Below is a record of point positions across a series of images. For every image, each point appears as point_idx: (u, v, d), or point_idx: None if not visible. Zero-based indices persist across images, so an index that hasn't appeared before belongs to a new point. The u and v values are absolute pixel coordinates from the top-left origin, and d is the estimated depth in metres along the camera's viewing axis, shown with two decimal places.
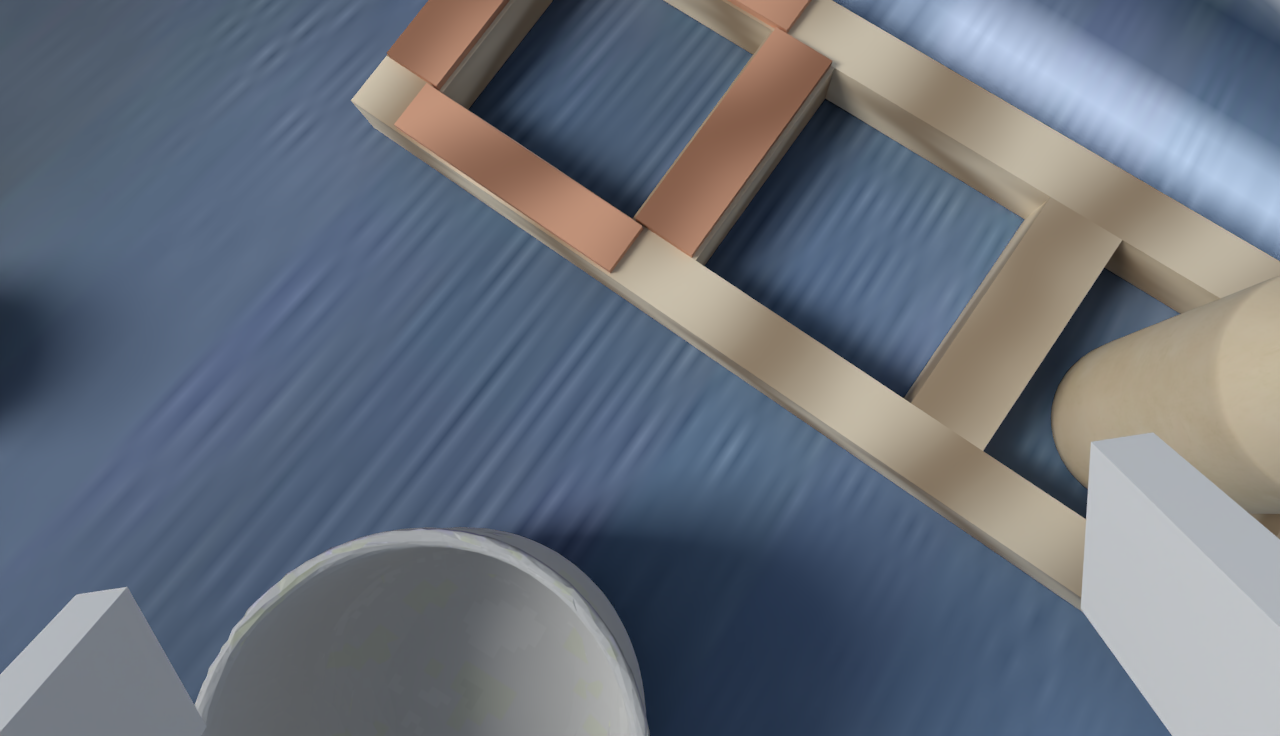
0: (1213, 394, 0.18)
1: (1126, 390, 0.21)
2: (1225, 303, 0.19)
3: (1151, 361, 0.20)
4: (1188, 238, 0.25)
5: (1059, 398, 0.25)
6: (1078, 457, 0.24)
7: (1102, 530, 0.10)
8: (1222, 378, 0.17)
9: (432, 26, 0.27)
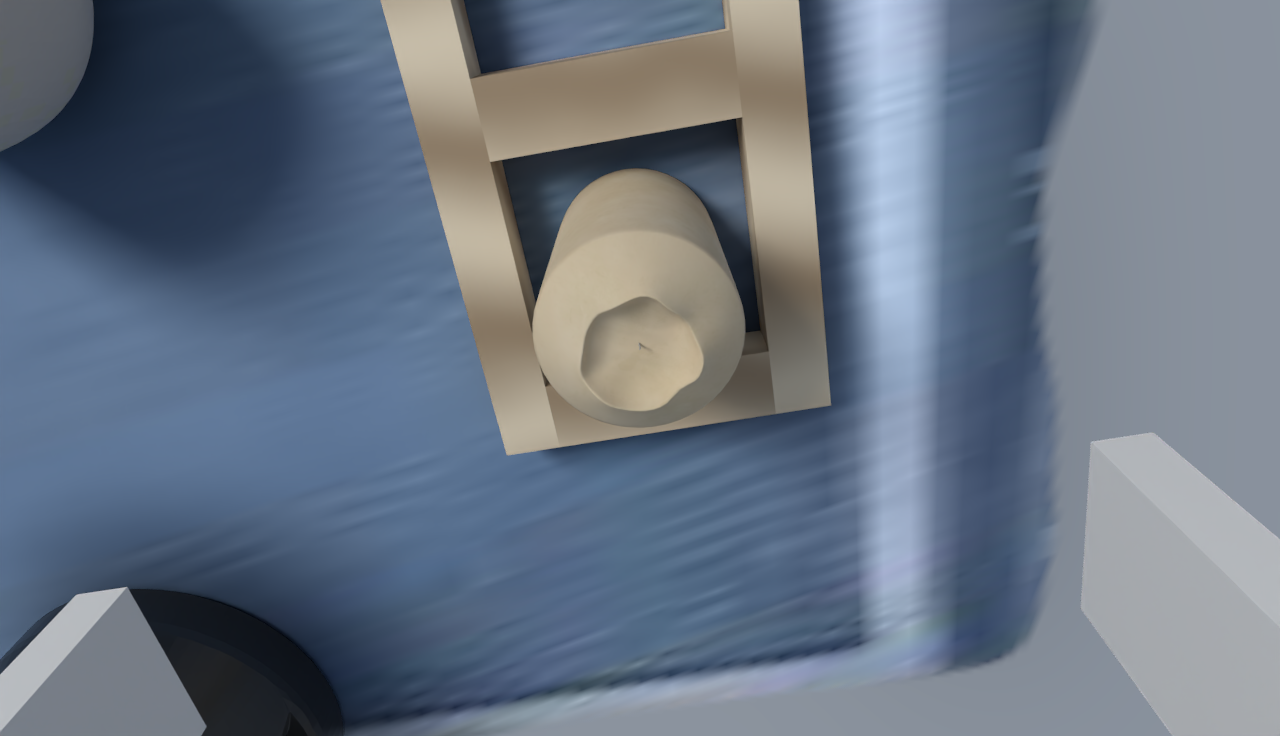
0: (557, 264, 0.20)
1: (582, 214, 0.23)
2: (647, 221, 0.20)
3: (600, 212, 0.22)
4: (784, 162, 0.25)
5: (598, 179, 0.27)
6: (560, 227, 0.27)
7: (1102, 530, 0.10)
8: (567, 260, 0.20)
9: None
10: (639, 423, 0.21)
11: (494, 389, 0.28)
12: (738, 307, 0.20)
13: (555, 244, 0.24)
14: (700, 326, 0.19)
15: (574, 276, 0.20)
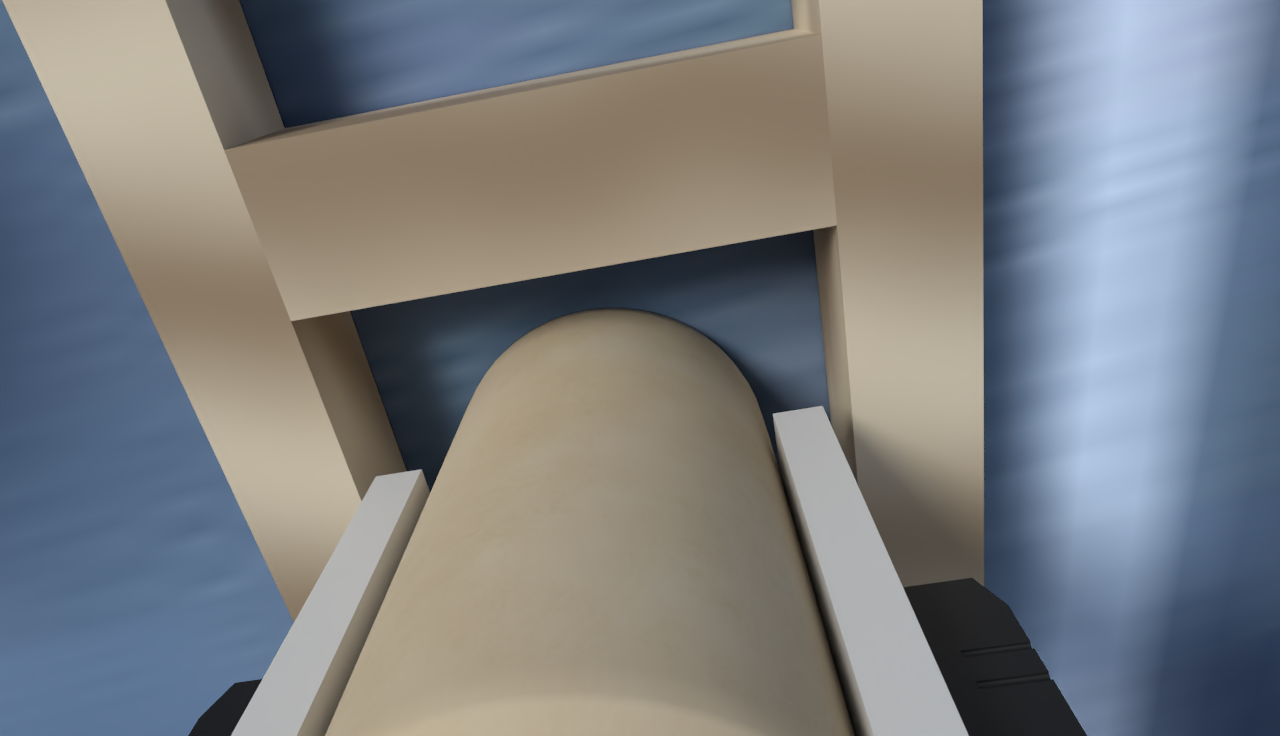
0: None
1: (465, 481, 0.10)
2: (605, 612, 0.07)
3: (495, 506, 0.09)
4: (923, 317, 0.12)
5: (534, 334, 0.13)
6: None
7: (784, 487, 0.12)
8: None
9: None
10: None
11: None
12: None
13: None
14: None
15: None
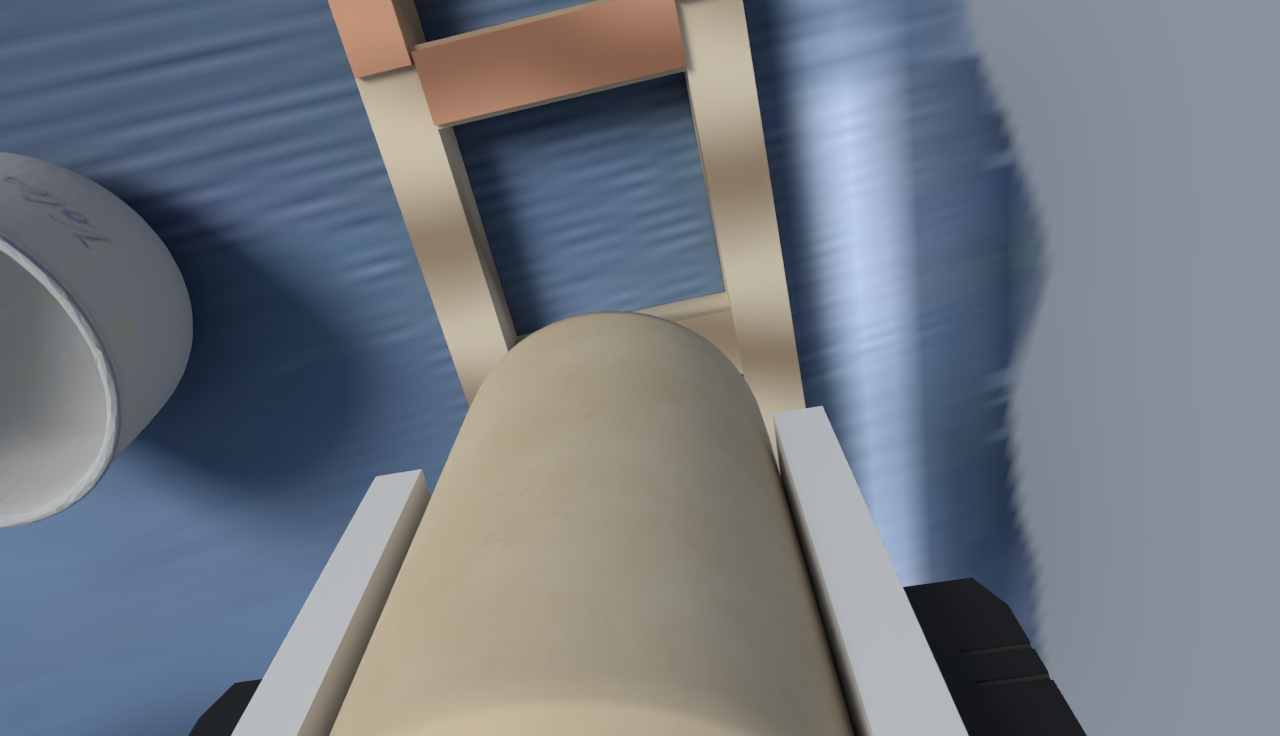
0: None
1: (467, 485, 0.10)
2: (606, 618, 0.07)
3: (497, 510, 0.09)
4: (781, 406, 0.29)
5: (535, 337, 0.13)
6: None
7: (784, 487, 0.12)
8: None
9: None
10: None
11: None
12: None
13: None
14: None
15: None
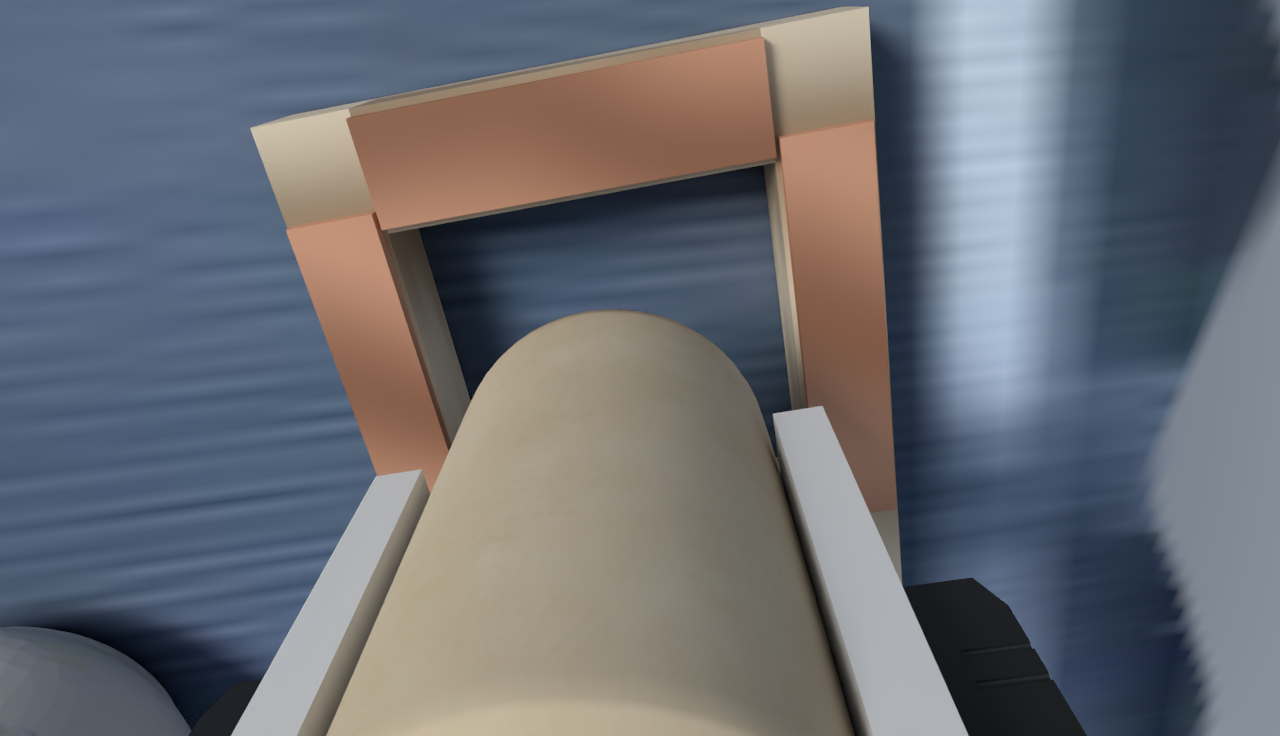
0: None
1: (465, 483, 0.10)
2: (605, 616, 0.07)
3: (496, 508, 0.09)
4: None
5: (535, 336, 0.13)
6: None
7: (784, 487, 0.12)
8: None
9: (440, 141, 0.15)
10: None
11: None
12: None
13: (414, 531, 0.10)
14: None
15: None
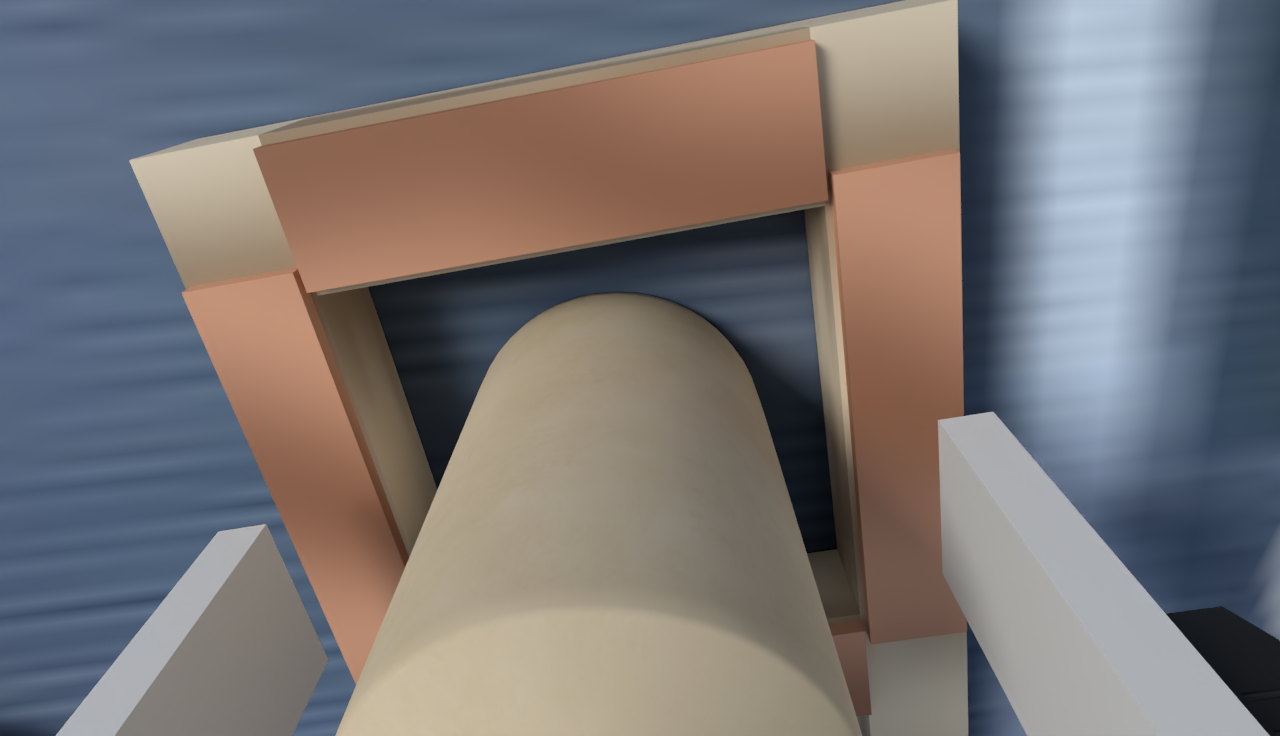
0: (373, 675, 0.07)
1: (486, 442, 0.11)
2: (618, 543, 0.08)
3: (516, 461, 0.10)
4: None
5: (544, 316, 0.14)
6: None
7: (949, 500, 0.11)
8: (395, 679, 0.07)
9: (380, 178, 0.12)
10: None
11: None
12: None
13: None
14: None
15: (410, 734, 0.07)
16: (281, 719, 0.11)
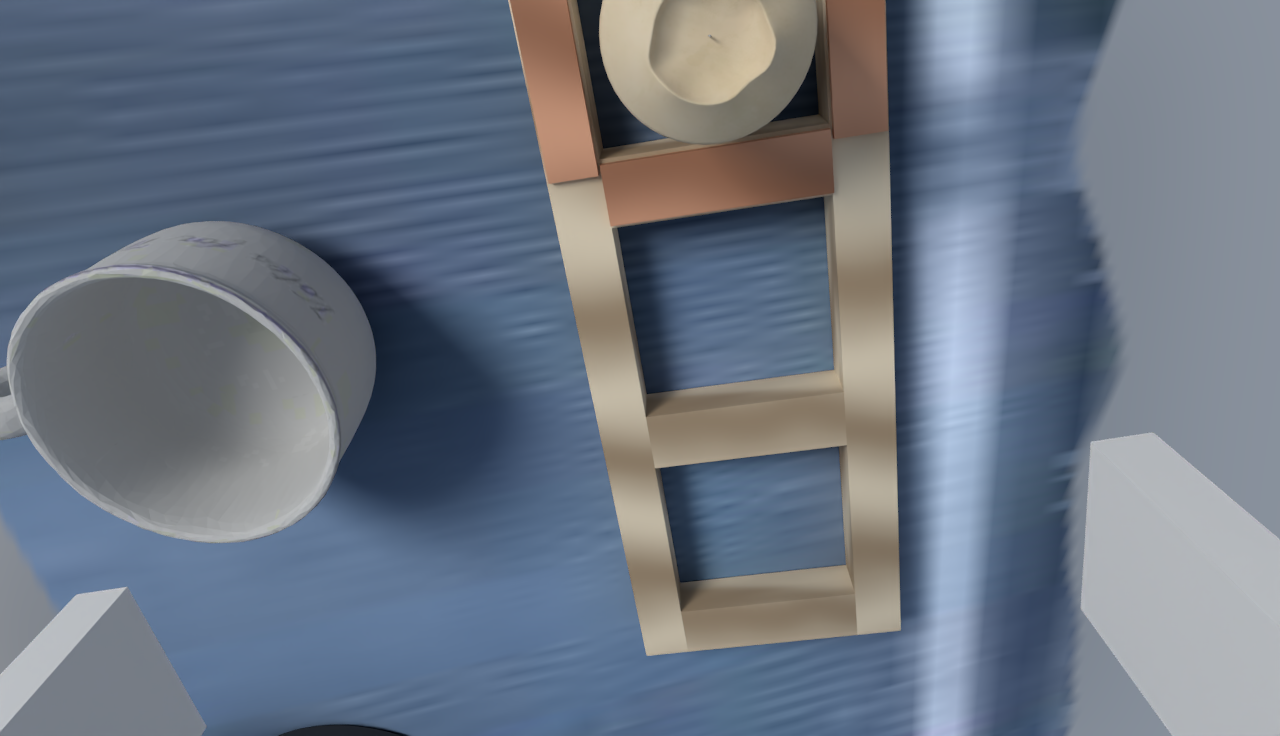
0: None
1: None
2: None
3: None
4: (876, 473, 0.34)
5: None
6: None
7: (1102, 530, 0.10)
8: None
9: None
10: (703, 134, 0.21)
11: (641, 612, 0.37)
12: (811, 2, 0.20)
13: None
14: (773, 9, 0.19)
15: None
16: None
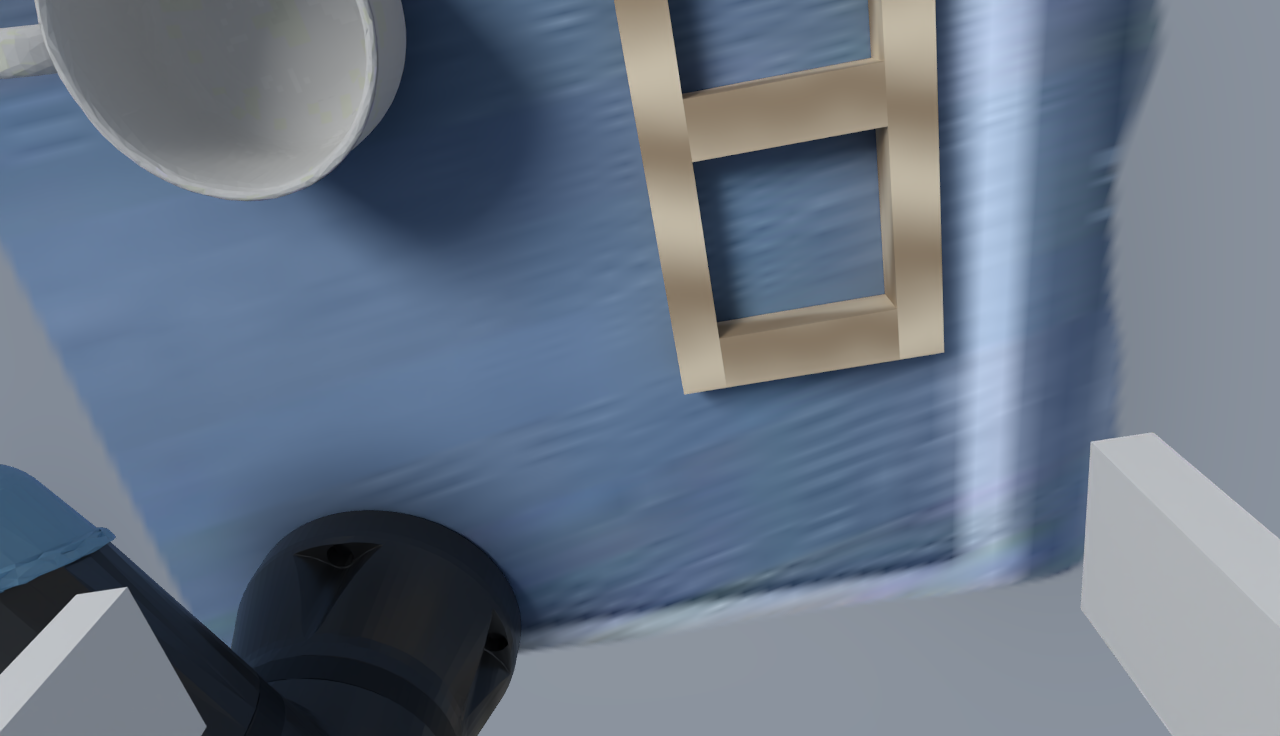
0: None
1: None
2: None
3: None
4: (917, 160, 0.33)
5: None
6: None
7: (1102, 530, 0.10)
8: None
9: None
10: None
11: (679, 340, 0.36)
12: None
13: None
14: None
15: None
16: None
